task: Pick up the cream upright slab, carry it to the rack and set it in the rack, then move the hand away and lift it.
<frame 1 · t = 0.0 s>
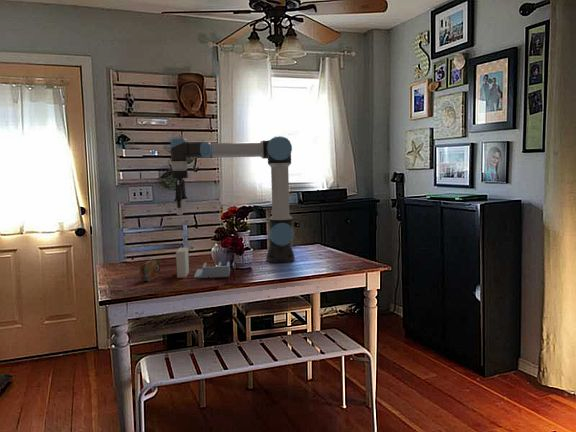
hand: (181, 213, 244), 28 cm above the table, tool pointing down, fingers open, 13 cm apart
rack: (212, 273, 235), on the table
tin: (150, 279, 226), on the table
cream upright slab: (183, 274, 234), on the table
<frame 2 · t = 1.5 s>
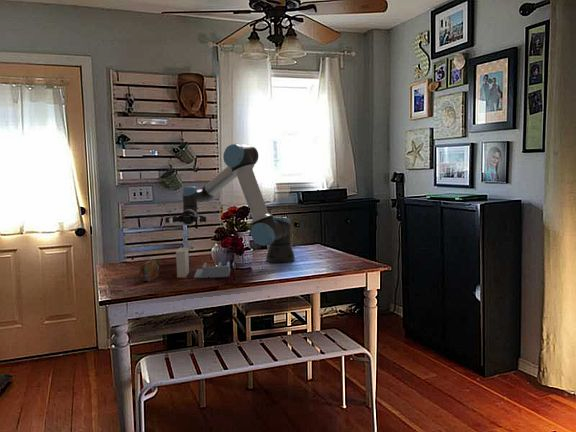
hand: (184, 221, 241), 24 cm above the table, tool horizontal, fingers open, 13 cm apart
nothing on the table moved.
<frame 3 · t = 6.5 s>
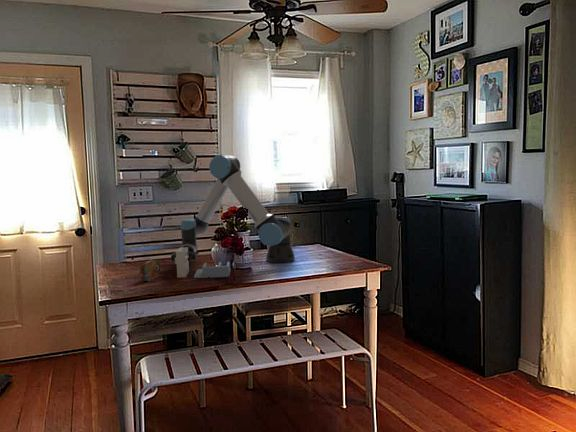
hand: (181, 260, 228), 8 cm above the table, tool horizontal, fingers closed on cream upright slab, 4 cm apart
cream upright slab: (183, 274, 234), on the table, touching gripper
everything else where it was.
when the fingers open (10 cm above the table, at t = 12.4 s): cream upright slab drops 1 cm, resting on rack.
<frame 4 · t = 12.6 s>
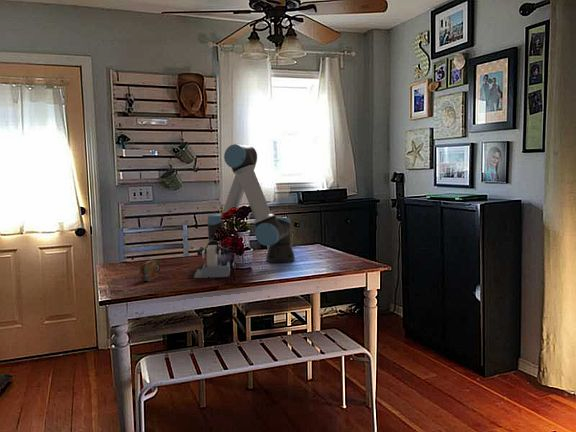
hand: (211, 255, 229), 10 cm above the table, tool horizontal, fingers open, 7 cm apart
cream upright slab: (212, 271, 234), point 1 cm above the table, touching rack
everything else where it was.
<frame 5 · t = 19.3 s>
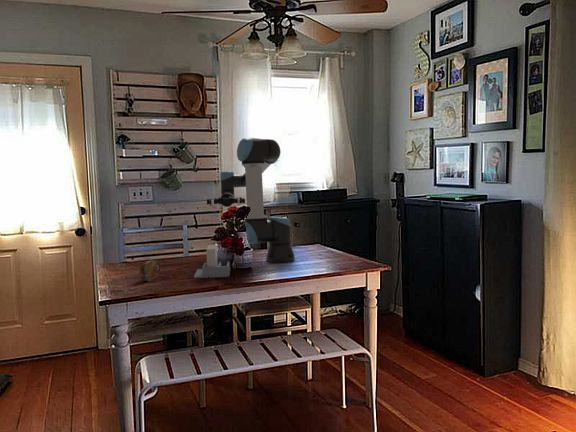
hand: (225, 202, 255), 32 cm above the table, tool horizontal, fingers open, 13 cm apart
nothing on the table moved.
at the end: cream upright slab 0.0 cm off-centre on the rack, point 0.8 cm above the rack's base; cream upright slab tilted 0°; the gripper is holding nothing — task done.
